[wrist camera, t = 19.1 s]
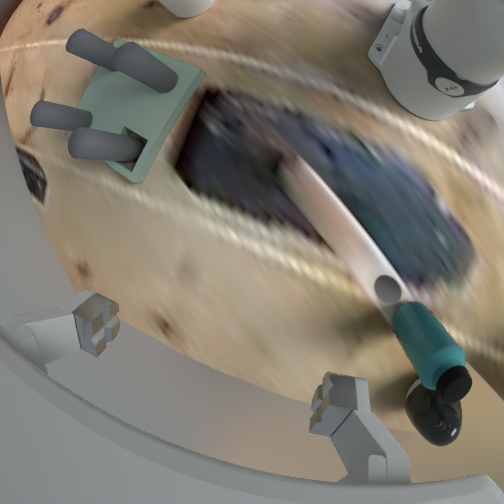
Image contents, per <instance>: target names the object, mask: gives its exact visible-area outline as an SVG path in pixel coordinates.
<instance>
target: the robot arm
mask: <svg viewBox="0 0 504 504" xmlns="http://www.w3.org/2000/svg"><path fill="white" fill-rule="evenodd" d="M377 49H380V50H381V51H378V50H377ZM368 57H369V59H370V60H371V61H372V62H373V64H374V65H375V66H376V67H377V68H378V69H379V70H380V72H381V74H382V76H383V78H384V81H385V83H386V85H387V87H388V89H389V90H390V92H391V93H392V95H393V96H394V97H395V99H396V100H397V101H398V102H399V103H400V104H401V105H402V106H403V107H405V108H406V109H407V110H409V111H410V112H412V113H413V114H415V115H417V116H419V117H421V118H424V119H428V120H434V121H439V120H445V119H448V118H450V117H451V116H453V115H454V114H455V113H456V112H458V111H462V110H469V109H471V108H472V107H474V101H475V100H477V99H478V98H479V97H481V96H482V95H483V94H485V93H486V92H487V91H488V90H489V89H491V88H492V87H493V86H494V85H495V84H496V83H497V82H498V80H499V79H500V78H502V77H504V0H432V1H431V2H428V1H424V0H413V1H412V3H407V2H397V3H396V4H395V5H394V7H393V9H392V10H391V12H390V14H389V16H388V17H387V19H386V21H385V23H384V24H383V26H382V28H381V30H380V32H379V33H378V35H377V37H376V39H375V40H374V42H373V44H372V46H371V47H370V49H369V51H368ZM118 312H119V306H118V303H116V302H115V301H113V300H111V299H108V298H106V297H104V296H102V295H100V294H98V293H96V292H94V291H92V290H90V289H85V290H84V291H82V292H81V293H80V294H78V295H77V296H76V297H75V298H73V299H72V300H71V301H69V302H68V303H67V304H66V305H64V306H63V307H60V306H58V307H53V308H48V309H43V310H38V311H33V312H28V313H23V314H18V315H13V316H12V317H10V318H9V319H8V320H7V321H5V322H4V323H3V324H2V325H0V504H504V494H503V492H502V491H501V490H500V488H499V487H498V486H497V485H496V484H495V483H494V481H493V480H492V479H491V478H489V477H488V476H487V475H485V474H477V475H472V476H467V477H461V478H456V479H448V480H441V481H433V482H422V483H411V480H410V470H409V461H408V455H407V454H406V453H405V451H404V450H403V449H402V447H401V446H400V445H399V444H398V443H397V441H396V440H395V439H394V437H393V436H392V435H391V434H390V432H389V431H388V430H387V428H386V427H385V426H384V425H383V423H382V422H381V421H380V420H379V418H378V417H377V416H376V415H375V413H371V409H370V400H369V392H368V384H367V380H366V379H365V378H359V377H352V376H348V375H343V374H338V373H333V372H327V373H326V374H325V375H324V377H323V384H321V385H319V386H318V387H317V389H316V391H315V393H314V396H313V400H312V406H311V409H312V411H313V412H314V414H313V415H312V417H311V418H310V427H309V432H310V433H314V434H319V435H324V436H329V437H331V440H332V442H333V444H334V446H335V448H336V450H337V452H338V454H339V456H340V458H341V460H342V462H343V464H344V466H345V468H346V470H347V472H348V474H347V475H346V476H345V477H343V478H342V479H341V480H339V481H338V482H327V481H318V480H310V479H303V478H296V477H290V476H285V475H279V474H274V473H269V472H264V471H260V470H256V469H252V468H248V467H243V466H240V465H236V464H233V463H229V462H226V461H222V460H219V459H216V458H212V457H209V456H206V455H203V454H200V453H198V452H195V451H192V450H189V449H186V448H184V447H181V446H178V445H176V444H173V443H171V442H168V441H166V440H164V439H161V438H159V437H156V436H154V435H152V434H150V433H147V432H145V431H143V430H141V429H139V428H137V427H134V426H133V425H130V424H128V423H126V422H124V421H123V420H121V419H119V418H117V417H115V416H113V415H111V414H109V413H107V412H105V411H104V410H102V409H100V408H99V407H97V406H95V405H93V404H92V403H90V402H88V401H86V400H85V399H83V398H82V397H80V396H78V395H77V394H75V393H74V392H72V391H71V390H69V389H68V388H66V387H65V386H63V385H62V384H60V383H59V382H57V381H56V380H54V379H53V378H52V377H50V376H49V375H48V372H47V369H46V367H45V364H47V363H49V362H52V361H54V360H57V359H60V358H62V357H65V356H67V355H69V354H72V353H74V352H77V351H79V350H81V349H82V350H84V351H86V352H88V353H90V354H92V355H94V356H96V357H98V356H99V355H100V354H101V353H102V352H103V350H104V349H105V348H106V343H107V342H110V341H112V340H114V338H115V337H116V336H117V333H118V331H119V328H120V319H119V318H118V316H117V313H118Z"/></svg>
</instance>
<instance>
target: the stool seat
mask: <svg viewBox="0 0 504 504" xmlns="http://www.w3.org/2000/svg"><path fill="white" fill-rule="evenodd" d="M66 51H67V52H69V53H72V54H74V55H76V56H79V57H81V58H83V59H86V60H88V61H90V62H92V63H95V64H97V65H99V67H98V69H97V70H96V72H95V74H94V76H93V77H92V79H91V81H90V83H89V84H88V86H87V88H86V90H85V92H84V94H83V96H82V98H81V100H80V102H79V104H78V106H77V108H74V107H70V106H65V105H61V104H56V103H52V102H47V101H42V100H40V101H38V102H37V103H36V104H35V105H34V107H33V109H32V112H31V116H30V122H31V124H32V126H37V127H46V128H54V129H61V130H66V132H65V135H67V136H68V137H69V138H70V136H71V134H72V132H73V131H74V130H75V129H76V128H78V127H85V128H91V129H96V130H101V131H106V132H111V133H116V134H121V135H125V136H129V134H130V132H131V130H132V131H133V132H135V133H137V134H138V135H140V136H142V137H143V138H145V139H147V140H148V142H147V144H146V146H145V147H144V149H143V151H142V153H141V155H140V157H139V159H138V161H137V163H136V165H135V167H134V168H132V167H131V166H129V165H128V164H126V163H125V162H123V161H113V160H102V161H103V162H104V163H106V164H107V165H109V166H110V167H112V168H113V169H114V170H116V171H117V172H119V173H120V174H121V175H123V176H124V177H126V178H127V179H129V180H130V181H131V182H133V183H142V182H143V180H144V178H145V176H146V174H147V172H148V170H149V168H150V166H151V164H152V162H153V160H154V159H155V157H156V155H157V153H158V151H159V149H160V148H161V146H162V144H163V142H164V141H165V139H166V137H167V135H168V134H169V132H170V130H171V128H172V127H173V125H174V123H175V122H176V120H177V118H178V117H179V115H180V114H181V112H182V110H183V109H184V107H185V106H186V104H187V102H188V101H189V99H190V98H191V96H192V95H193V93H194V92H195V90H196V89H197V87H198V86H199V84H200V83H201V81H202V80H203V78H204V77H205V75H206V74H205V73H204V72H203V71H202V70H201V69H200V68H197V67H195V66H193V65H190V64H188V63H185V62H183V61H180V60H178V59H175V58H173V57H170V56H167V55H165V54H162V53H159V52H156V51H153V50H151V49H148V48H145V47H142V46H139V45H138V44H136V43H135V42H126V41H122V40H119V39H116V40H115V42H114V43H113V45H111V44H109V43H108V42H106V41H104V40H103V39H101V38H99V37H97V36H95V35H94V34H92V33H90V32H88V31H86V30H84V29H79V30H77V31H75V32H74V33H73V34H72V35H71V36H70V38H69V39H68V41H67V44H66Z"/></svg>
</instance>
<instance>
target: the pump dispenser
mask: <svg viewBox="0 0 504 504" xmlns="http://www.w3.org/2000/svg"><path fill="white" fill-rule="evenodd" d="M405 411H406V414H407V416H408V418H409V420H410V421H411V423H412V424H413V426H414V427H415V428H416V430H417V431H418V432H419V433H420V434H421V435H422V436H423V438H424V439H426V440H427V441H428V442H430V443H431V444H433V445H436V446H446V445H448V444H450V443H452V442H453V441H454V440H455V439H456V438H457V437H458V435H459V433H460V430H461V425H462V410H461V402H460V400H459V401H458V402H455V403H452V404H447V403H445V402H444V401H443V400H442V399H441V397H440V396H439V395H438V393H437V391H436V390H431V389H427V388H426V387H424V386H423V385H422V383H421V380H420V378H419V379H417V380H416V381H415V382H414V383H413V384H412V386H411V387H410V389H409V391H408V393H407V396H406V402H405Z"/></svg>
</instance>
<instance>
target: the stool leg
mask: <svg viewBox="0 0 504 504" xmlns="http://www.w3.org/2000/svg"><path fill="white" fill-rule="evenodd" d="M145 146H146V144H145V142H144V141H143V140H142V139H139V138H134V137H130V136H125V135H121V134H116V133H111V132H106V131H101V130H96V129H91V128H85V127H78V128H76V129H75V130H74V131H73V132H72V134H71V136H70V138H69V142H68V150H69V153H70V155H71V156H72V157H73V158H81V159H99V160H113V161H126V162H137V161H138V159H139V157H140V155H141V153H142V151H143V149H144V147H145Z"/></svg>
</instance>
